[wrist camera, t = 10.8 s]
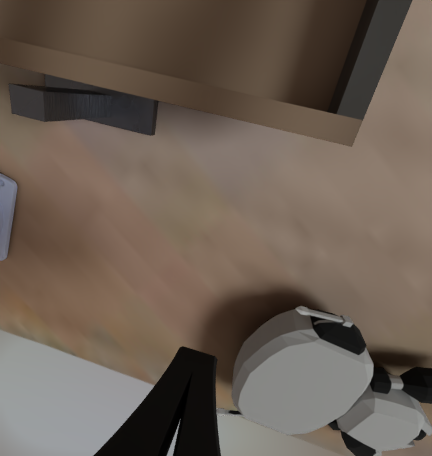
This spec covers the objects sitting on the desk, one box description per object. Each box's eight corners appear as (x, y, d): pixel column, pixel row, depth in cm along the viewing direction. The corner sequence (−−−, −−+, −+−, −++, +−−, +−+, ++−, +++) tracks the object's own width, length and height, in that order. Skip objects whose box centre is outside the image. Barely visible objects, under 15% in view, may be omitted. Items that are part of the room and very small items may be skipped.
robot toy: (461, 347, 21) (283, 267, 19) (512, 409, 17) (291, 312, 15) (358, 426, 26) (214, 367, 25) (377, 487, 22) (206, 420, 21)
